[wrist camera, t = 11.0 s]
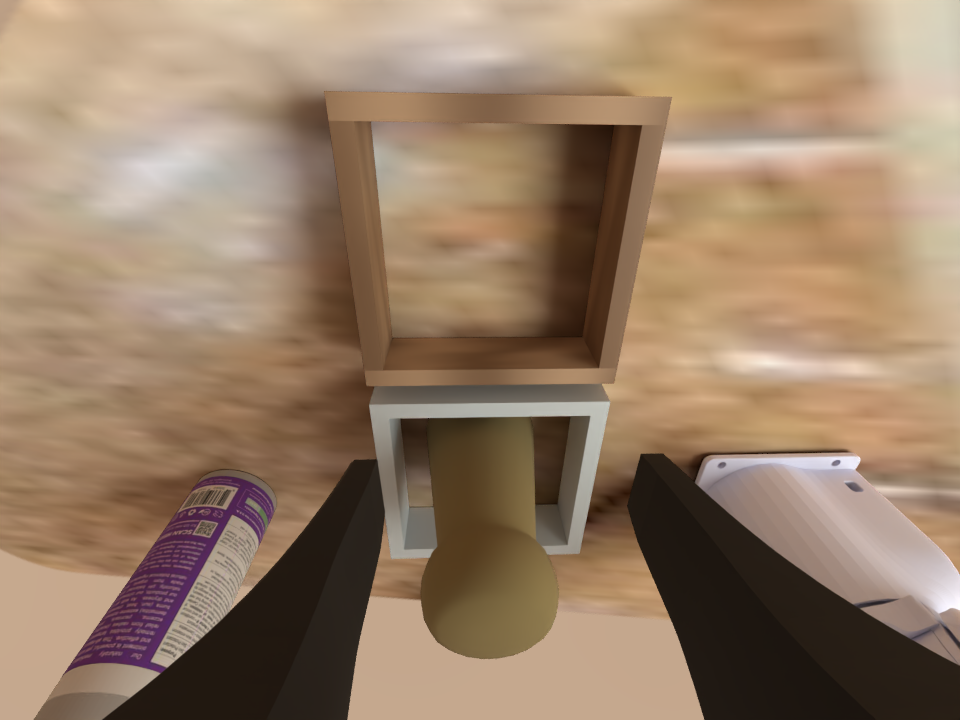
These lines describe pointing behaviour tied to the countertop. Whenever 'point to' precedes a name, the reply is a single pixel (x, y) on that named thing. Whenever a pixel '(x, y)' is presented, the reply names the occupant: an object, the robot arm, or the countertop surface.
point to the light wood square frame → (614, 253)
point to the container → (169, 596)
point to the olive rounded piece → (486, 540)
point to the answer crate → (582, 402)
